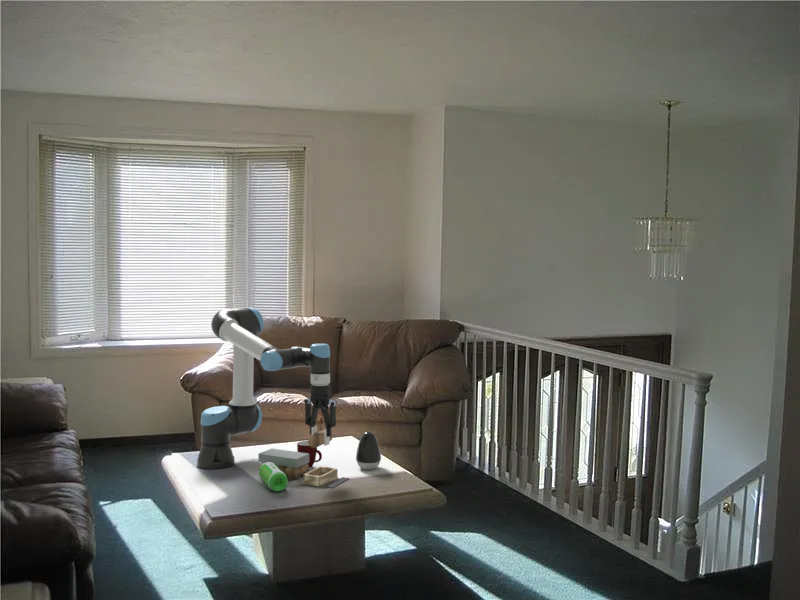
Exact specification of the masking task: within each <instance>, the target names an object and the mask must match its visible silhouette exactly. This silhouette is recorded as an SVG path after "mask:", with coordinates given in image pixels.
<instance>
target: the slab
mask: <svg viewBox="0 0 800 600" xmlns="http://www.w3.org/2000/svg"><path fill="white" fill-rule="evenodd" d="M257 460H258V463H260V464H263V463H266V462H272V463H274V464H275V465H279V466H286V467H293V468H298V467H300V466H302V465H305V464H307V463H309V453H301V452H298V451H294V450H293V451H292V450H286V449H278V448H270V449H267V450H264V451H262V452H259V453H258V459H257Z"/></svg>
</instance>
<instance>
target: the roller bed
mask: <svg viewBox="0 0 800 600" xmlns="http://www.w3.org/2000/svg"><path fill="white" fill-rule="evenodd" d="M262 464H264V463H260V465H259V467H258V470H259V469H260V467H261V465H262ZM276 466H277V467H278V468H279V469H280V470H281V471H282V472H283V473H284V474H285V475H286V477H287V481H292V480H294V479H297V478H298V477H301V476H302V475H303V474H305V473H307V472H309V470H310V468H309V465H308V463H307V464H305V465H302V466H300V467H298V468H293V467H286V466H279V465H276Z"/></svg>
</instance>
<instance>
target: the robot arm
mask: <svg viewBox="0 0 800 600" xmlns="http://www.w3.org/2000/svg"><path fill="white" fill-rule="evenodd" d="M210 324H211V325H210V326H211V331H212V332H213V334H214V335H215V336H216V337H217V338H218V339H220V340H221V341H223V342H230V343H231V344H232V345H233V346H232V347H233V351H232V352H233V353H232V356H233V358H232V360H233V361H232V362H233V363H232V398H231V399H230V401H229V402H228V406H227V405H218V406H212V407H209V408H206V409H205V410H203V411H202V412H201V414H200V431H201V432H200V443H201V445H200V446H201V447H200V449H199V454H198V457H197V459H196V461H197V462H196V465H197V467H198V466H199V467H198V468H200V467H201V469H205V468H207V470H208V469H209V470H217V469H224V468H229V467H232V466H234V465H235V456H234V453H233V449H232V447H231V437H233V436H238V435H243V434H249V433H252V432H254V431H256V430H257V429H259V428H260V426H261V424H262V421H263V413H262V410H261V408H260V406H259V405H258V402H257V401H256V400H255V398H254V371H255V370H254V365H255V363H254V361H255V360H254V359H256V360H258V361H259V362H260V365H261V367H262V369H263V370H264V371H267V372H275V371H280V370H286V369H287V370H288V369H295V368H302V367H303V368H309V370H310V372H309V373H310V375H309V376H310V384H311V385H310V388H309V389H310V390H309V391H310V397H309V398H305V399H304V400H303V402H304V405H305V406H304V409H305V410H304V411H305V412H304V415H305V417H304V423H305V425H308V426H309V435H313V434H315V433H318V426H317V424H316V422H317V418H318V415H319V414H318V413H319V410H321V412H322V417H323V422H324V425H325V427H324V429H323V430H324V444H323V446H328V445H330V443H331V441H330V438H329V437H330V436H331V432H332V428H334V427H336V426H337V417H336V415H337V414H336V412H337V411H336V409H337V408H336V407H337V404H338V401H336V400H333V399H331V396H330V395H331V384H330V383H331V348H330V345H329V344H328V343H313V344H311V345H310V347H304V346H292V347H290V348H283V349H279V348H277V346H276V347H275V346H274V345H272V344H270V343H269V342H267V341H266V340H264V339H262V338H260V337H259V335H261V333H262V332H263V330H264V327H265V321H264V318H263V315H262V314H261V313H260V311H259V310H258V309H257V308H255V307H248V306H247V307H235V308H224V309H221V310H218V311H217V312H216V313H215V314H214V315H213V317H212V319H211V323H210Z"/></svg>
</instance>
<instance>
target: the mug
mask: <svg viewBox="0 0 800 600" xmlns="http://www.w3.org/2000/svg"><path fill="white" fill-rule="evenodd" d="M296 445H297V446H296V447H297V451H296V452H301V453H309V463H308V465H309V469H311V468H313V466H314V464H315V463H319V462H320V461H321V460H322V459H323V455H322V454H323V453H322V452H321V451H320V450H319V449H318V447H316V448H312V447H311V446H310V445H309V444H308V440H302V441H299V442H297V443H296ZM317 454H318V460H316V458H317Z"/></svg>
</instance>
